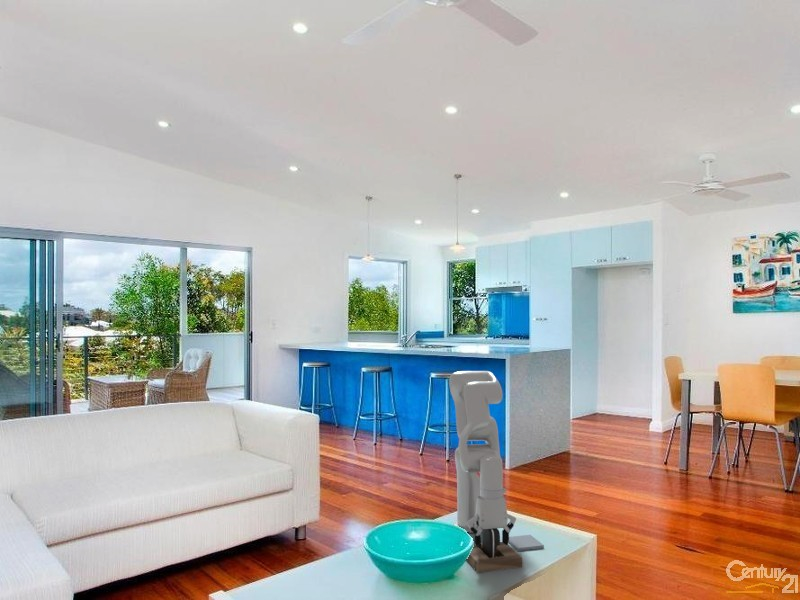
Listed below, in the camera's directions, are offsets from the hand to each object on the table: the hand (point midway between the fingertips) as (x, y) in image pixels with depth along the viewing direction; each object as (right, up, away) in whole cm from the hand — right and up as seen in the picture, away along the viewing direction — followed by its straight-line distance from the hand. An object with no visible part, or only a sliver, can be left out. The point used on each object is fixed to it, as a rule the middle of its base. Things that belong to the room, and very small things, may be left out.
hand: (491, 545), depth 189 cm
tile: (+14, -6, +14) cm, 21 cm away
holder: (0, -5, 0) cm, 5 cm away
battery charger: (0, -6, 0) cm, 6 cm away
